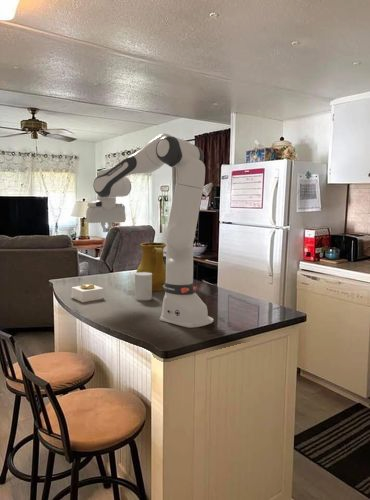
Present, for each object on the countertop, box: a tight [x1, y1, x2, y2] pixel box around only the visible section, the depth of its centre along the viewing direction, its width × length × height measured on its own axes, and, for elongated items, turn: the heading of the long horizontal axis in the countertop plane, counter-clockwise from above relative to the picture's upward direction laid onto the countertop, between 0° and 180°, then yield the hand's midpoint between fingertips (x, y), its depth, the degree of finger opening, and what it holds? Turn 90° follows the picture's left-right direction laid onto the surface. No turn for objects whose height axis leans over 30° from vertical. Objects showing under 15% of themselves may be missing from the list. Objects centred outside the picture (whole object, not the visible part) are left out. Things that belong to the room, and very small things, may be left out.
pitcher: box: [135, 241, 167, 292], centre depth 208 cm, size 17×19×25 cm
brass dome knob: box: [80, 283, 95, 290], centre depth 188 cm, size 6×6×6 cm
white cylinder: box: [134, 272, 153, 301], centre depth 190 cm, size 8×8×12 cm
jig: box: [71, 284, 105, 303], centre depth 188 cm, size 11×11×5 cm
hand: (106, 232), depth 192 cm, fingers closed
